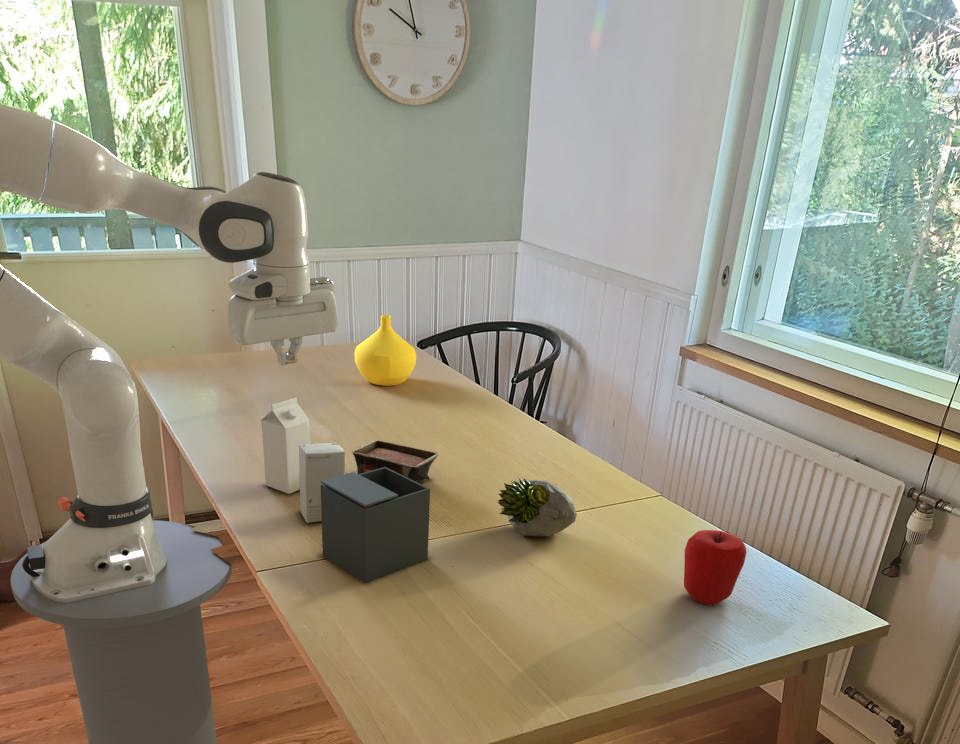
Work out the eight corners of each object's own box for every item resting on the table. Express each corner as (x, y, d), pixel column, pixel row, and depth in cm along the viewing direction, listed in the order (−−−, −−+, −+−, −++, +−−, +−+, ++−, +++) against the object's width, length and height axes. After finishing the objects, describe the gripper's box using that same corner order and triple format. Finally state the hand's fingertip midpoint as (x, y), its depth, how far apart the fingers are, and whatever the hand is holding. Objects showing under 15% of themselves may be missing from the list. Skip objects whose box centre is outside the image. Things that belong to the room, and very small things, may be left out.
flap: (365, 507, 149) (365, 504, 148) (320, 482, 156) (320, 480, 156) (398, 496, 153) (398, 494, 153) (353, 473, 161) (353, 471, 161)
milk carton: (265, 485, 190) (259, 401, 180) (289, 476, 195) (284, 393, 185) (288, 494, 187) (284, 409, 177) (312, 485, 192) (308, 401, 182)
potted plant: (580, 532, 172) (514, 520, 165) (546, 548, 183) (483, 537, 177) (580, 475, 174) (515, 460, 168) (547, 494, 186) (485, 481, 179)
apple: (733, 589, 163) (749, 523, 156) (734, 616, 154) (751, 548, 147) (677, 579, 165) (690, 514, 158) (675, 606, 156) (689, 538, 149)
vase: (391, 369, 273) (391, 306, 263) (428, 384, 261) (430, 319, 252) (342, 378, 262) (341, 312, 252) (379, 394, 250) (379, 326, 241)
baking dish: (385, 472, 206) (378, 431, 201) (448, 479, 198) (443, 437, 193) (348, 495, 196) (340, 454, 191) (414, 504, 187) (407, 461, 182)
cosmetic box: (306, 524, 175) (303, 454, 168) (299, 511, 180) (296, 443, 172) (347, 519, 178) (345, 450, 171) (339, 507, 183) (337, 440, 175)
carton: (365, 582, 156) (364, 509, 149) (322, 556, 164) (320, 484, 156) (427, 558, 166) (430, 488, 158) (384, 534, 173) (385, 466, 166)
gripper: (323, 272, 154) (325, 351, 161) (219, 282, 141) (226, 367, 148) (344, 279, 150) (346, 359, 157) (240, 290, 137) (246, 376, 144)
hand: (287, 363), depth 152 cm, fingers closed
